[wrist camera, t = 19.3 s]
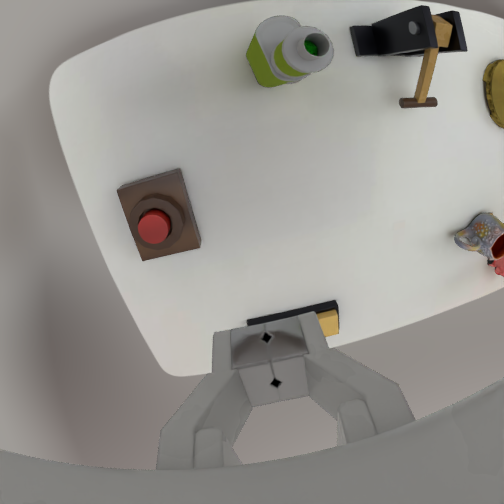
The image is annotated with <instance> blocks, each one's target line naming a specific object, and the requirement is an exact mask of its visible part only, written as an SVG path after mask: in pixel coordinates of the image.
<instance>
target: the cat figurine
mask: <svg viewBox="0 0 504 504" xmlns="http://www.w3.org/2000/svg"><path fill="white" fill-rule="evenodd" d="M487 261H488V265H490V266H492V267H495V273H496V274H498V275H502V276H503V277H504V257H502V258H501V259H499V260H489V259H488V260H487Z"/></svg>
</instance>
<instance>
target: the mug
mask: <svg viewBox="0 0 504 504" xmlns="http://www.w3.org/2000/svg"><path fill="white" fill-rule="evenodd" d="M461 237H467V238H469V240H470V242H471V245H472V246H471V245H468V244H465V243H464V242H462V241H461V240H460V238H461ZM454 241H455V243H456V244H457V245H458V246H459V247H461V248H463V249H465V250H468V251H477V252H479V253H480V254H482V255H483V256H487V257H488V258H489V260H499V259H501V258H502V257H504V223H502V222H501V221H500V220H499V219H498V218H497V217H495V216H494V215H493V214H492V213H483V214H480V215H478V216H477V217H476V218H475V219H474V220H473V221H472V223H471V224H470V226H469V227H468V228H466V229H464V230H462V231H459V232H458V233H456V235H455V236H454Z"/></svg>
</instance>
